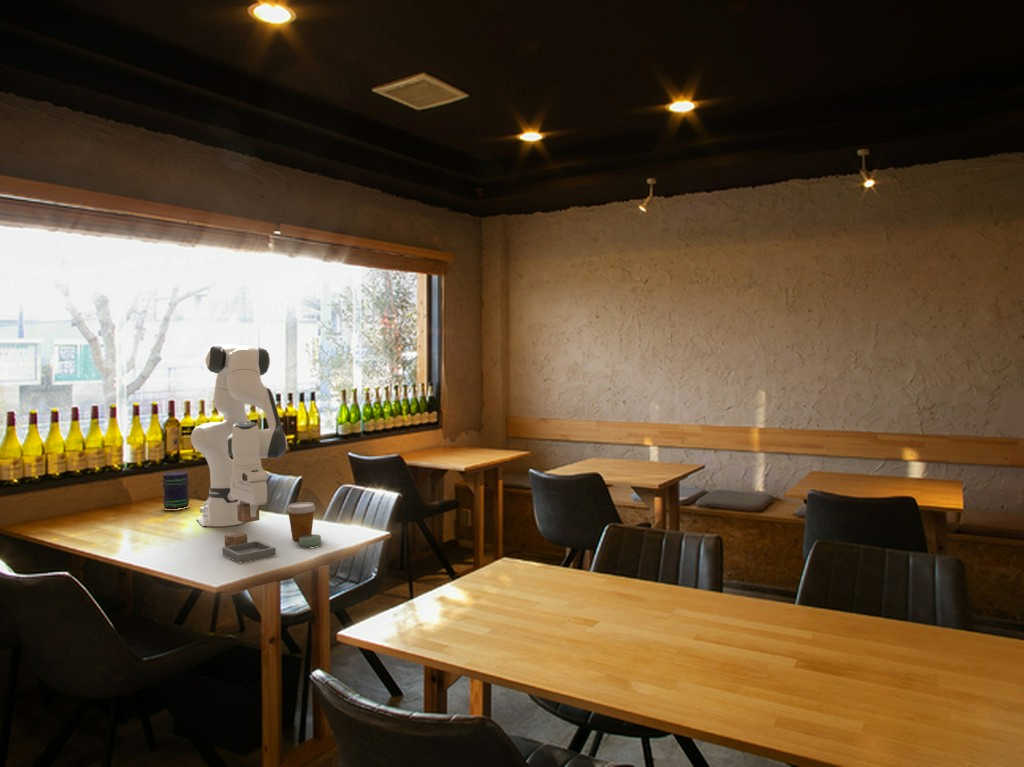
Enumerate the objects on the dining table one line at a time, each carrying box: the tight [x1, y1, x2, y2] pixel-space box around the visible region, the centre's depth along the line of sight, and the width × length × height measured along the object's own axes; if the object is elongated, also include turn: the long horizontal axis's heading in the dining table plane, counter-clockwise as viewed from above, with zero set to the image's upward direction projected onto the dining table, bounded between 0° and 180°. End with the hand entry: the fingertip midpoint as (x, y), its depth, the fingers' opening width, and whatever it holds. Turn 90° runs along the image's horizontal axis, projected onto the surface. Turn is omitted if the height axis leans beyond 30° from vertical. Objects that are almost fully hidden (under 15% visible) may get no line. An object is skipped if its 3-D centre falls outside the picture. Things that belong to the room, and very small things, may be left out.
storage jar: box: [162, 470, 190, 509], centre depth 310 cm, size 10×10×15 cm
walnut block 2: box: [237, 503, 260, 524], centre depth 238 cm, size 5×5×5 cm
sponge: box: [298, 533, 322, 549], centre depth 250 cm, size 7×7×3 cm
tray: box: [221, 540, 277, 564], centre depth 239 cm, size 13×12×2 cm
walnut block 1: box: [224, 531, 248, 547], centre depth 246 cm, size 5×5×5 cm
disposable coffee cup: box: [286, 501, 316, 542], centre depth 258 cm, size 10×10×12 cm
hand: (248, 515), depth 238 cm, fingers closed on walnut block 2, 5 cm apart
